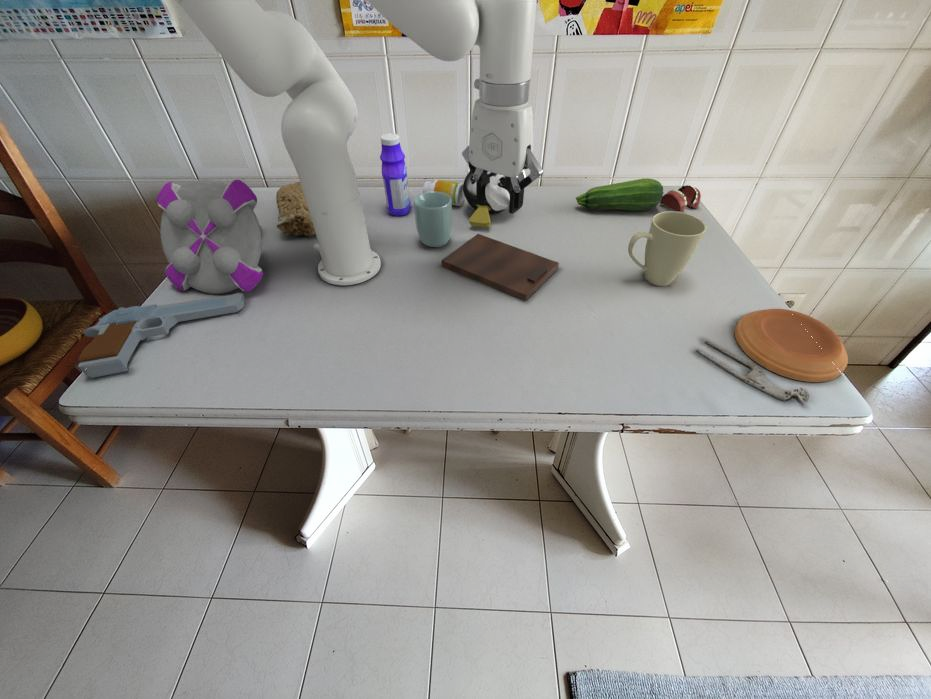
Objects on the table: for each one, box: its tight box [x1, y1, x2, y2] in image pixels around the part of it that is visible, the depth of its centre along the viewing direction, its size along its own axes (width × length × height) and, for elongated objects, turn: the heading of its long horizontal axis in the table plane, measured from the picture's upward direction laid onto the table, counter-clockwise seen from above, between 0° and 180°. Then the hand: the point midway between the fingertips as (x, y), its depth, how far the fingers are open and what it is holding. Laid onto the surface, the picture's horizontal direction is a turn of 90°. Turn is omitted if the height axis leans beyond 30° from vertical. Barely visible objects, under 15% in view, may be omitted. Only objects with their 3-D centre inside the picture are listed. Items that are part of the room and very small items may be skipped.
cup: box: [413, 191, 453, 248], centre depth 90 cm, size 8×8×10 cm
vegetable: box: [575, 178, 665, 212], centre depth 101 cm, size 7×7×20 cm
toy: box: [156, 179, 264, 295], centre depth 83 cm, size 25×25×15 cm
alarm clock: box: [463, 170, 513, 228], centre depth 99 cm, size 12×15×15 cm
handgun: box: [77, 292, 245, 379], centre depth 72 cm, size 4×25×15 cm
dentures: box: [659, 184, 702, 213], centre depth 103 cm, size 6×5×9 cm
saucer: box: [734, 308, 849, 383], centre depth 69 cm, size 16×16×3 cm
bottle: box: [379, 132, 412, 216], centre depth 99 cm, size 7×6×17 cm
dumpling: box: [485, 183, 510, 211], centre depth 75 cm, size 7×5×4 cm
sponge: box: [275, 181, 316, 237], centre depth 100 cm, size 13×8×20 cm
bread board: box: [441, 233, 560, 302], centre depth 86 cm, size 20×13×2 cm, turn 54°
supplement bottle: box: [422, 179, 465, 207], centre depth 106 cm, size 5×5×10 cm
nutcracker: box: [695, 340, 811, 406], centre depth 65 cm, size 16×1×5 cm
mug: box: [627, 210, 707, 287], centre depth 79 cm, size 11×10×12 cm
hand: (498, 204), depth 76 cm, fingers closed on dumpling, 6 cm apart
